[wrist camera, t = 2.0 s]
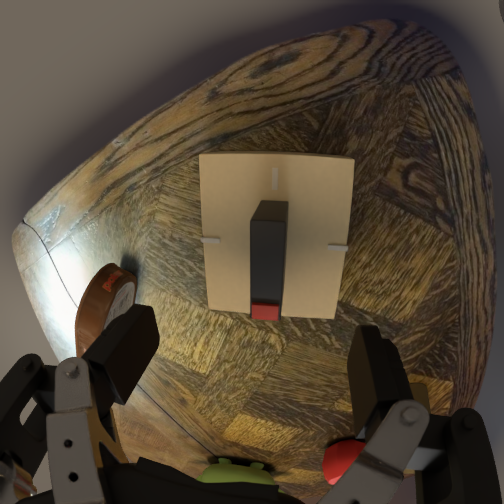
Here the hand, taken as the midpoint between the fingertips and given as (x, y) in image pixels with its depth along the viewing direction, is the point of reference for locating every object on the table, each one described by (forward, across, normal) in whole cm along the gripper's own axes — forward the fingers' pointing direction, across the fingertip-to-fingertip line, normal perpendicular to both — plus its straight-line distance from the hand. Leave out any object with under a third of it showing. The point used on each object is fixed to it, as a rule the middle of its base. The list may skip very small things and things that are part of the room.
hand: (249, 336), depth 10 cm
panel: (+12, 0, 0) cm, 13 cm away
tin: (+13, +16, +10) cm, 23 cm away
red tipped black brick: (+9, 0, 0) cm, 9 cm away
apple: (+13, -13, +34) cm, 39 cm away
